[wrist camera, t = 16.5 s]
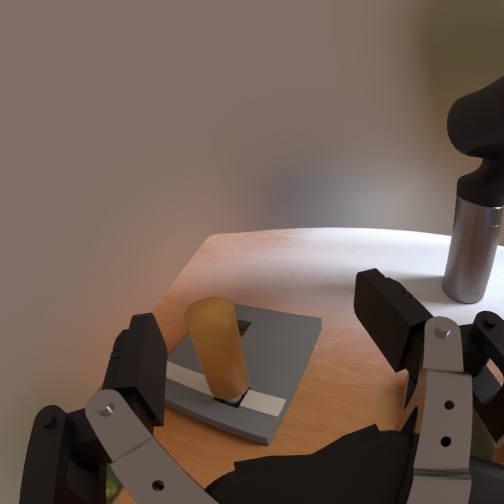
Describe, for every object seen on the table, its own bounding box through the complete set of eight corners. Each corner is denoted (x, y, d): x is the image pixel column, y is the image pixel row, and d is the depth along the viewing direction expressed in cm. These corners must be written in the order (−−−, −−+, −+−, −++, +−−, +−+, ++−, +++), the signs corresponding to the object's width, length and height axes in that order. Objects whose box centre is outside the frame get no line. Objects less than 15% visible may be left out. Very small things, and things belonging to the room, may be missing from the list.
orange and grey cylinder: (227, 385, 33) (202, 293, 27) (259, 395, 31) (243, 301, 25) (209, 411, 29) (174, 321, 23) (243, 423, 27) (217, 333, 21)
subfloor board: (221, 310, 47) (219, 300, 46) (321, 328, 40) (321, 317, 39) (146, 395, 31) (140, 385, 31) (268, 446, 24) (266, 437, 23)
